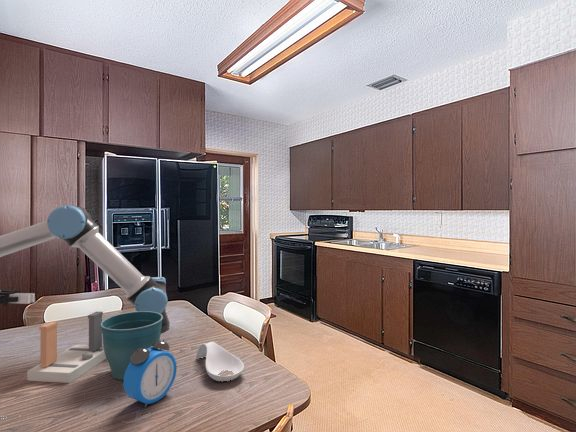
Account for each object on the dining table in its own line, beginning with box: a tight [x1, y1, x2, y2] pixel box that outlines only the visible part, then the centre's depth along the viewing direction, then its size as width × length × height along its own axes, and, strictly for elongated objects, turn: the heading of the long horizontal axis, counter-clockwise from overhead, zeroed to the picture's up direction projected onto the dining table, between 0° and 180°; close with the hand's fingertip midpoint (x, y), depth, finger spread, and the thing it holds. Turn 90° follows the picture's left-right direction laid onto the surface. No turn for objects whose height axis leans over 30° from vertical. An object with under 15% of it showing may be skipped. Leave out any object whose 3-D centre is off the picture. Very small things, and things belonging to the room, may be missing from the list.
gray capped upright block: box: [87, 311, 104, 351], centre depth 113 cm, size 2×4×12 cm, turn 175°
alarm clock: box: [122, 339, 177, 408], centre depth 89 cm, size 13×6×15 cm, turn 152°
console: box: [26, 344, 107, 384], centre depth 108 cm, size 14×20×4 cm
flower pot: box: [101, 311, 163, 381], centre depth 104 cm, size 18×18×17 cm
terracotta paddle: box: [39, 321, 59, 367], centre depth 102 cm, size 2×4×12 cm, turn 175°
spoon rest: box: [196, 341, 245, 383], centre depth 106 cm, size 24×12×7 cm, turn 39°
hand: (31, 298), depth 103 cm, fingers closed
